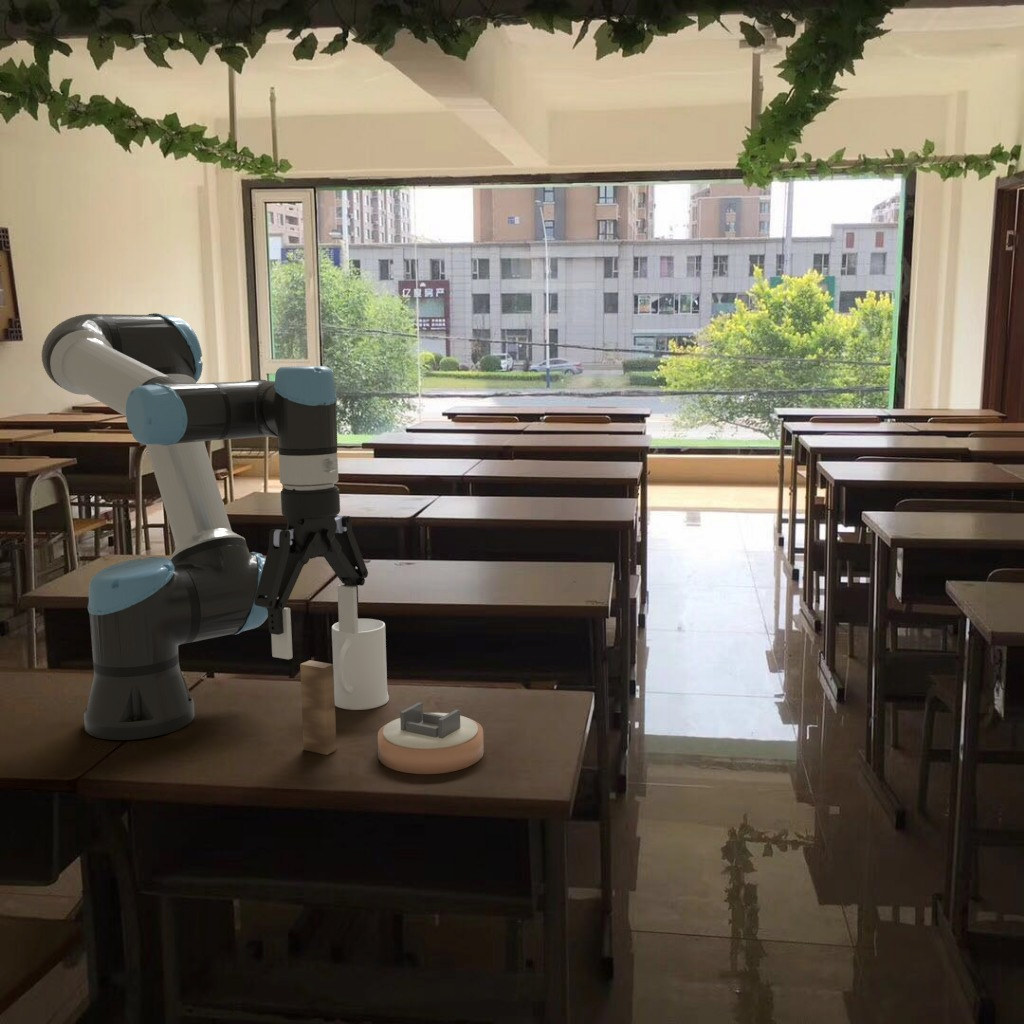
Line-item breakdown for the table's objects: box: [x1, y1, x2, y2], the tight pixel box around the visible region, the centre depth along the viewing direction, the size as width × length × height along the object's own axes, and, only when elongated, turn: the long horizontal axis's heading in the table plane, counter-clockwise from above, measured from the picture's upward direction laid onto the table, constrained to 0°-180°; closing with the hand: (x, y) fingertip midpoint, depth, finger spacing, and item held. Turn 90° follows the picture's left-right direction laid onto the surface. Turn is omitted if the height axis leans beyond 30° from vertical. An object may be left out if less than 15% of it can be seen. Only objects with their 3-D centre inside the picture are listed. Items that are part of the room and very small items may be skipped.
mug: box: [331, 618, 390, 711], centre depth 162 cm, size 12×8×12 cm
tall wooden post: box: [299, 659, 337, 756], centre depth 144 cm, size 4×2×12 cm, turn 61°
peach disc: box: [377, 702, 484, 775], centre depth 143 cm, size 14×14×6 cm
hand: (316, 644), depth 143 cm, fingers open, 13 cm apart
